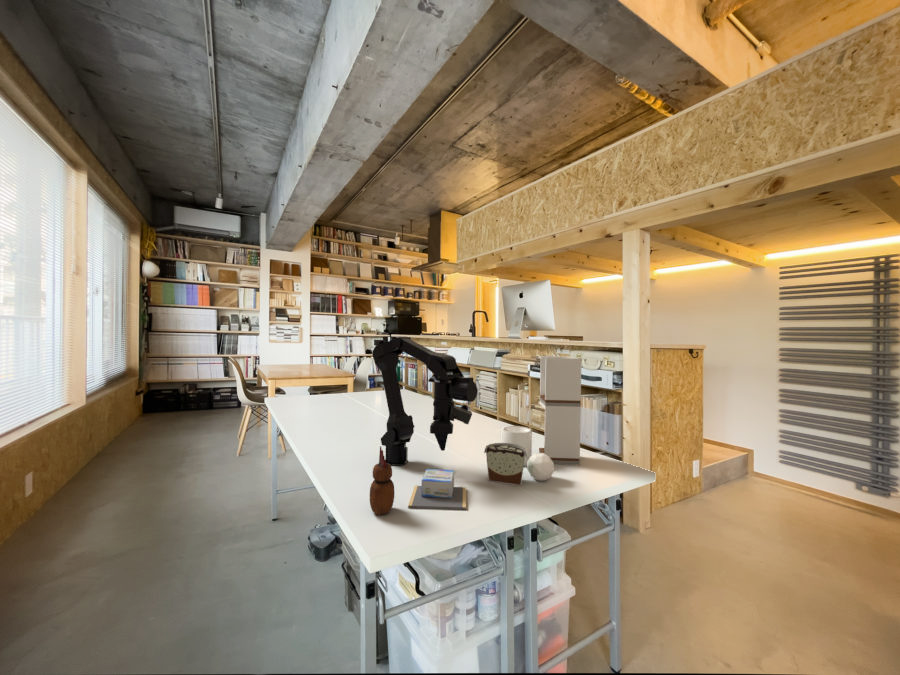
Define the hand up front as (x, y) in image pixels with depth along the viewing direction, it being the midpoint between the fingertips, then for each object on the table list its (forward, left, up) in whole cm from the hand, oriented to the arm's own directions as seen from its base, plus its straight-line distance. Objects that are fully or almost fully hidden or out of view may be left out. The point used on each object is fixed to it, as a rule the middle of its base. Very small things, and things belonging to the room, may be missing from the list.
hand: (442, 450), depth 112 cm
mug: (+24, +17, -8) cm, 31 cm away
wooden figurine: (-13, -23, -8) cm, 28 cm away
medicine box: (0, -7, -5) cm, 9 cm away
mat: (0, -15, -8) cm, 17 cm away
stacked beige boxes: (+39, +19, -8) cm, 44 cm away
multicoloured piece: (+19, -1, -8) cm, 21 cm away
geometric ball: (+29, 0, -8) cm, 30 cm away
